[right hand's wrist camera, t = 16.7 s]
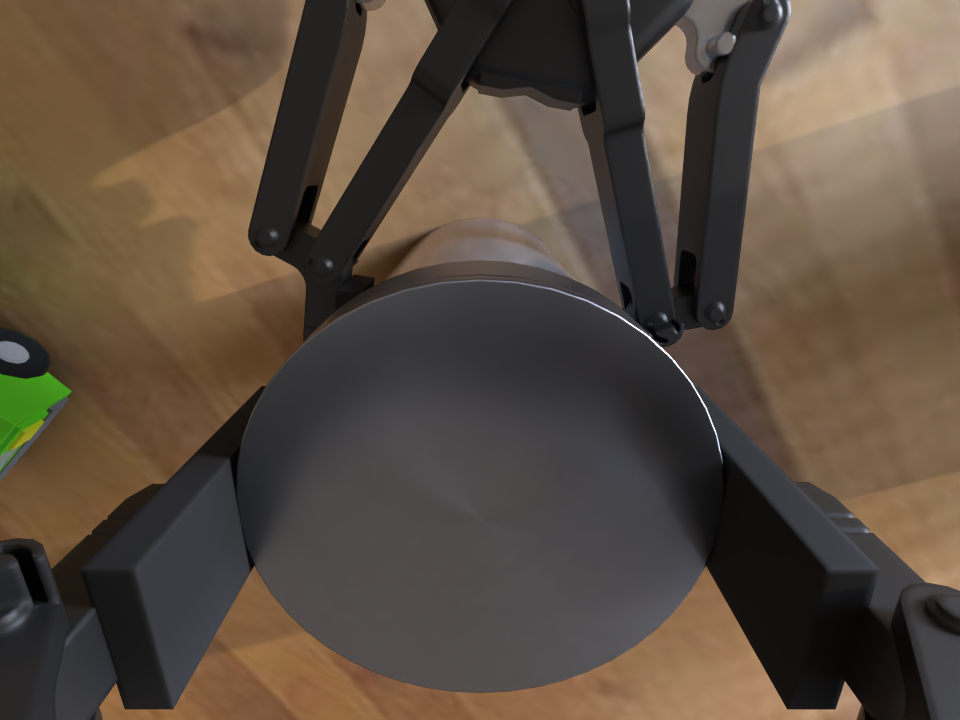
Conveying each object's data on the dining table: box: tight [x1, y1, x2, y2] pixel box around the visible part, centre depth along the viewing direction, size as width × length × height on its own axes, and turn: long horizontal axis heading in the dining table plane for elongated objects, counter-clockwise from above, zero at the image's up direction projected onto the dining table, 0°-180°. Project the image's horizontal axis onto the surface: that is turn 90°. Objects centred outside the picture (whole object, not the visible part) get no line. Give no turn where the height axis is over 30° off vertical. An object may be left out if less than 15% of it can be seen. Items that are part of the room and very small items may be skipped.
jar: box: [385, 218, 576, 281], centre depth 18 cm, size 9×9×15 cm
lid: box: [236, 260, 724, 693], centre depth 11 cm, size 10×10×2 cm
